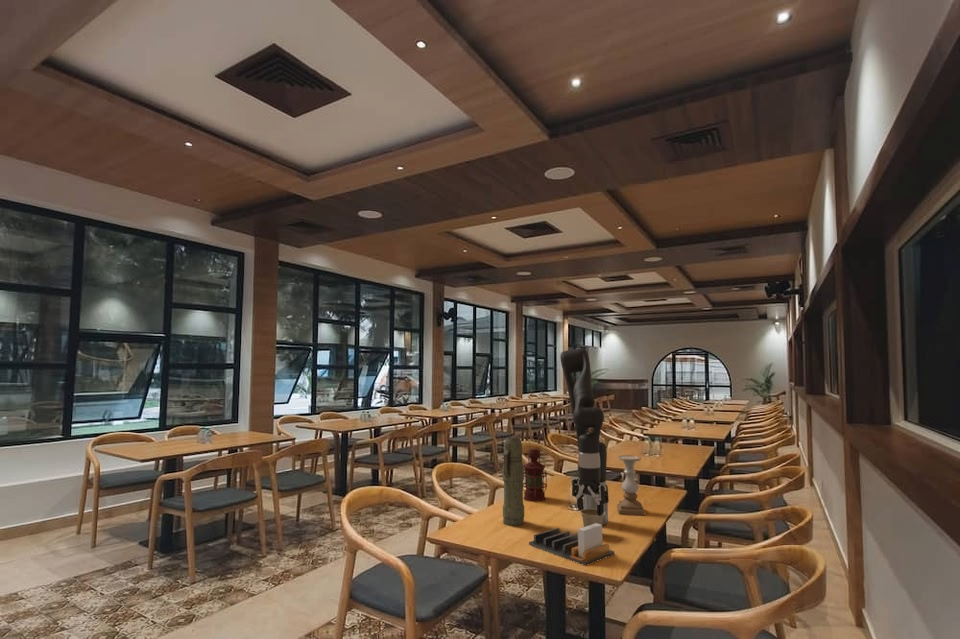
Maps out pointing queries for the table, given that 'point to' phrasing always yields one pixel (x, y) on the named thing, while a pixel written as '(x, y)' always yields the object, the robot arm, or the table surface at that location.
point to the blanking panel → (589, 538)
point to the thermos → (513, 482)
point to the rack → (568, 546)
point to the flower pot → (591, 517)
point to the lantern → (534, 477)
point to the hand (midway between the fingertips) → (590, 512)
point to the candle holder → (630, 489)
